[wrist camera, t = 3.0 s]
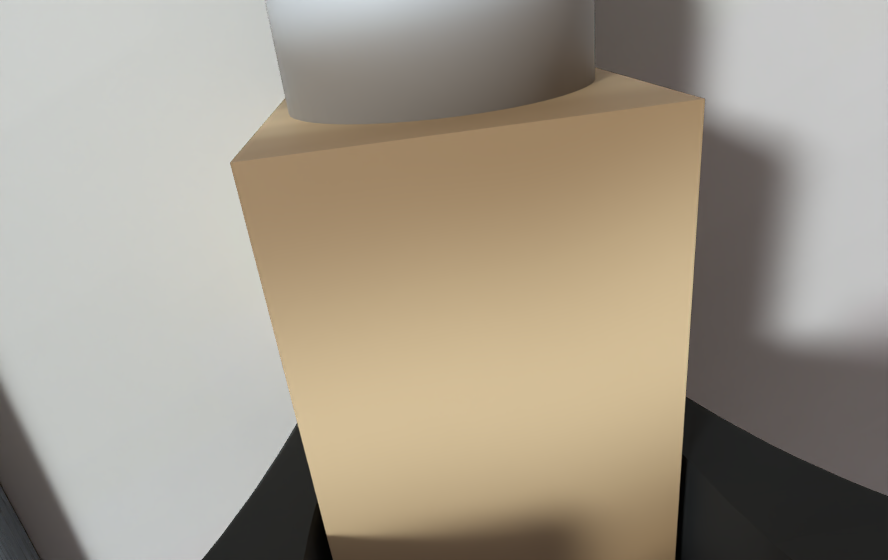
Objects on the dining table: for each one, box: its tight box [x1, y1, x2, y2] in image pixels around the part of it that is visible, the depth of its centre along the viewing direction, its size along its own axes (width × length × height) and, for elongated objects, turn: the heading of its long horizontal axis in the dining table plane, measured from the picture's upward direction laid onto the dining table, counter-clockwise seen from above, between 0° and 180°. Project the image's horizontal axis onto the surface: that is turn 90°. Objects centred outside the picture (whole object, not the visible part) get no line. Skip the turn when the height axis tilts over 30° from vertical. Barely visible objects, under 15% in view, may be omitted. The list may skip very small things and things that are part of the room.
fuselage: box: [230, 0, 705, 560], centre depth 9 cm, size 14×4×6 cm, turn 6°
